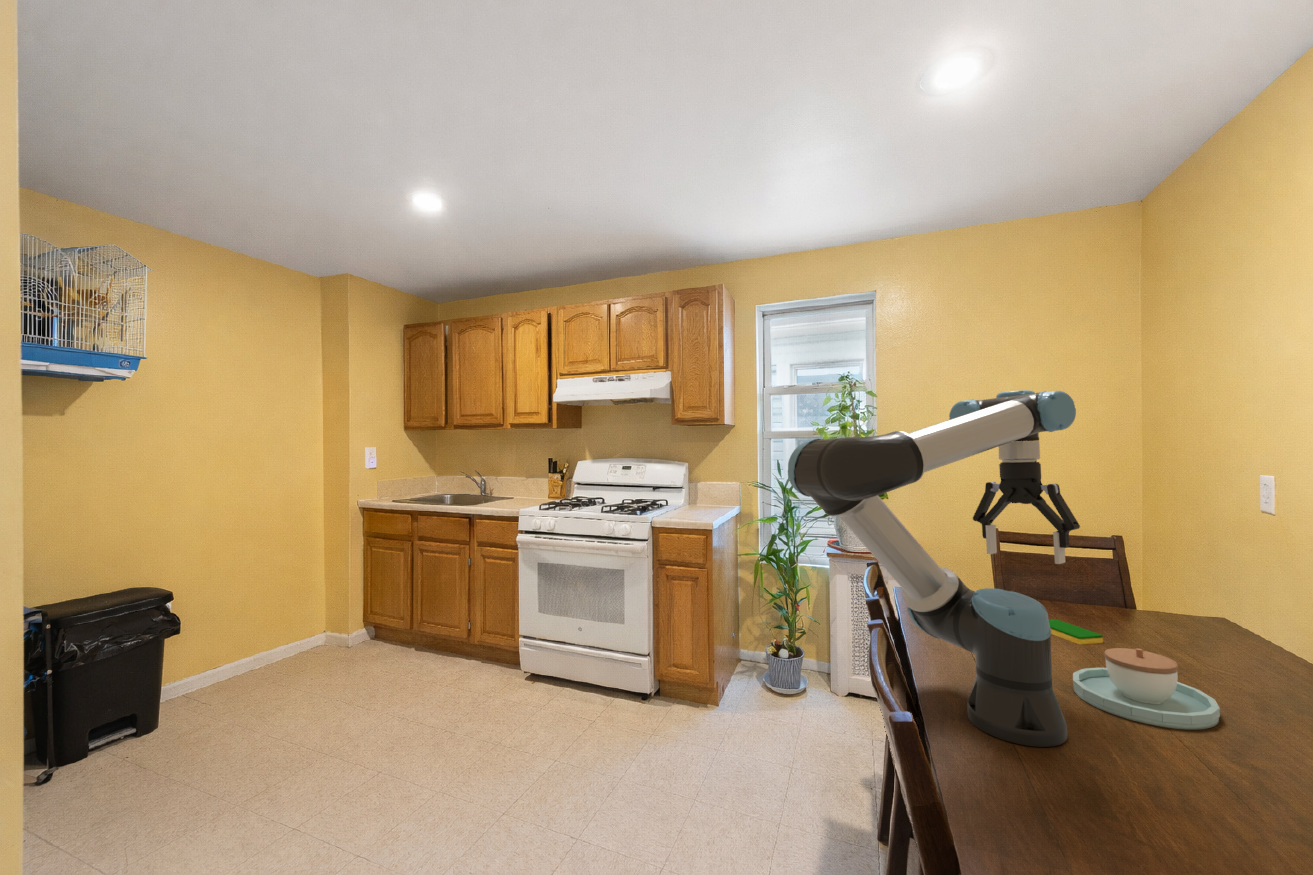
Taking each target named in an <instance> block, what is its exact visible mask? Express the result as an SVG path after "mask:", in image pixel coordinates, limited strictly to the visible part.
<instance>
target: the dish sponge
mask: <svg viewBox="0 0 1313 875" xmlns="http://www.w3.org/2000/svg"><path fill="white" fill-rule="evenodd" d="M1049 625H1050V629H1051V635H1052V636H1053V635H1054V636H1056V637H1059V638H1061V639H1063V640H1066V641H1068V642H1071V643H1075V644H1077V645H1081V646H1083V645H1093V644H1094V645H1095V644H1096V645H1097V644H1104V637H1103V634H1100V633H1098V632H1095V631H1093V630H1089V629H1086V628H1083V627H1080V626H1077V625H1074V624H1072V623H1069V622H1066V621H1062V620H1060V619H1057V618H1053V619H1049Z"/></svg>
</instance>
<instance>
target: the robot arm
mask: <svg viewBox="0 0 1313 875" xmlns="http://www.w3.org/2000/svg"><path fill="white" fill-rule="evenodd" d="M1076 414H1077V408H1076V405H1075V401H1074V399H1073V397H1071V395H1069V394H1068V393H1067V392H1064V391H1062V390H1051V391H1050V390H1049V391H1047V390H1043V391H1041V392H1040V391H1039V392H1035V391H1033V390H1025V389H1024V390H1022V389H1021V390H1011V391H1002V392H999V393H997V394H996V397H995V398H987V399H968V400H960V401H958V402H956V403H955V404H954V405H953V406H952V408H950V411H949V416H948V417H949V418H948V420H945V421H941V422H938V423H935V424H933V425H929V426H925V427H923V428H920V429H917V430H913V431H911V432H905V431H902V430H896V431H892V432H889V433H885V434H880V435H872V436H853V437H852V436H851V437H850V436H848V437H838V438H837V437H836V438H828V439H827V438H826V439H824V438H814V439H811V440H807V441H805V442H802V443H800V444H799V445H798V446H797V447H795V449H794V450H793V451H792V453H791V455H790V457H789V459H788V463H787V478H788V480H789V483H790V485H791V486H792V488H793V489H794V490H795V491H796V492H797V493H799V494H800V495H802V496H804V497H807V498H808V497H810V498H812V499H813V501H814V502H815V503H816V504H817V505H818V506H819V507H820V509H822V510H823V512H824V513H825V514H826V515H827V516H829V517H839V519H840V520H841V521H842V522H843V524H845V525H846V526H847V528H848V529H850V531H851V532H852V533H853V534H854V535H855V537H857V539H858V540H859V541H860V542H861V543H862V544H863V545H864V546H865V548H866V549H867V550H868V551H869V552H870V553H871V554H872V555H873V557H874V558H875V559H876V560H877V561H878V563H879V564H881V566H882V567H883V568H884V570H886V572H887V573H888V574H889V575H890V576H891V577H892V578H893V579H894V580H895V582H896V583H897V584H898V586H900V587H901V589H903V591H904V601H905V603H906V605H907V606H908V608H907V612H908V616H909V618H910V619H911V621H912V622H913V624H915V626H916V627H917V628H918V629H920V630H921V631H923V632H924V633H926V635H929V636H931V637H933V638H935V639H939V640H942V641H945V642H946V643H948V644H951V645H953V646H956V647H959V648H960V649H961V648H962V649H963V650H965V651H968V652H970V653H973V654H974V655H975V670H976V671H975V672H976V673H975V675H976V676H975V679H974V682H973V685H972V688H971V691H970V693H969V696H968V700H967V703H966V704H967V705H966V707H967V708H966V709H967V710H966V711H967V718H968V720H969V721H970V723H971V724H972V725H974V726H975V727H976V728H977V729H979V730H980V731H981V732H984V733H986V734H988V735H990V736H993V737H994V738H998V739H999V740H1003V741H1006V742H1009V743H1014V744H1016V745H1023V746H1030V747H1038V748H1039V747H1040V748H1046V747H1047V748H1049V747H1050V748H1051V747H1057V746H1060V745H1062V744H1064V743H1066V741H1067V740H1068V725H1067V721H1066V718H1065V717H1064V714H1063V712H1062V710H1061V706H1060V704H1059V701H1058V699H1057V697H1056V694H1055V691H1054V689H1053V672H1052V671H1053V670H1052V669H1053V668H1052V664H1053V663H1052V640H1051V639H1052V637H1051V635H1052V634H1051V629H1050V625H1049V620H1050V619H1049V614H1048V611H1047V609H1046V607H1045V606H1044V605H1043V604H1042V603H1041V602H1039V601H1038V600H1037V599H1035V598H1032V597H1030V596H1029V595H1025V594H1022V593H1020V592H1017V591H1016V592H1015V591H1013V590H1005V589H1002V588H990V587H989V588H981V589H980V588H979V589H976V590H973V589H970V588H969V587H968V586H967V585H966V584H965V583H964V582H963V580H961V578H960V577H959V576H958V575H957V574H956V572H954V571H953V570H951V569H950V568H947V567H940V566H939V565H938V563H937V562H936V561H935V560H934V559H933V558H932V556H931V555H930V554H929V553H928V552H927V551H926V550H925V548H924V547H923V546H922V545H921V544H920V542H918V540H917V539H916V538H915V537H914V535H912V533H911V532H910V531H909V530H908V529H907V528H906V526H905V525H904V524H903V523H902V522H901V520H900V519H899V518H898V517H897V516H896V515H895V513H894V512H893V511H892V510H891V509H890V508H889V507H888V505H887V504H886V503H885V502H884V501H883V500H882V498H881V497H880V495H883V494H886V493H890V492H892V491H895V490H897V489H900V488H902V487H906V486H908V485H912V484H914V483H917V482H918V481H920V480H921V479H922V477H923V476H924V474H925V473H927V472H930V471H933V470H936V469H938V468H941V467H945V466H947V465H949V464H953V463H955V462H959V461H962V460H964V459H967V458H969V457H973V456H975V455H978V454H980V453H985V452H986V451H989V450H992V449H995V448H998V459H999V460H1001V461H1002V462H1000V463H999V464H998V468H999V478H1000V481H999V483H998V482H997V481H988V482H986V483H985V488H984V493H983V495H982V497H981V499H980V502H979V504H978V506H977V508H976V510H975V512H974V514H973V516H972V520H973V521H974V522H977V523H980V524H981V529H982V530H981V532H982V533H981V534H982V538H983V539H985V542H986V554H988V555H994V554H998V549H997V547H998V546H997V530H996V529H997V525H996V524H994V521H995V520H996V519H997V517H998V516H999V515H1000V514H1001V513H1002V512H1003V511H1004V510H1005V508H1007V507H1008V506H1009V505H1010V504H1022V505H1030V504H1031V506H1033V507H1035V508H1036V509H1037V510H1038V511H1039V512H1040V513H1041V514H1042V516H1044V517H1045V519H1046V520H1047V521H1048V522H1049V523H1050V524H1051V525H1052V527H1054V528H1055V529H1056V531H1052V532H1053V533H1052V534H1053V537H1052V538H1053V552H1054V554H1053V555H1054V564H1056V565H1061V564H1065V563H1066V549H1068V548H1069V547H1070V532H1071V531H1074V530H1075V531H1076V530H1079V529H1080V528H1081V526H1080V523H1079V522H1078V520H1077V518H1076V517H1075V515H1074V513H1073V512H1072V511H1071V508H1069V505H1068V504H1067V502H1066V501H1065V499H1064V497H1063V496H1062V494H1061V488H1060V485H1059V484H1058V483H1048V484H1043V482H1042V467H1041V466H1042V464H1041V463H1040V462H1039V461H1038V460H1040V459H1041V449H1040V445H1041V444H1040V437H1039V436H1040V435H1039V434H1040V433H1042V432H1049V433H1053V432H1056V431H1063V430H1066V429H1068V428H1070V427H1071V425H1073V423H1074V421H1075V419H1076V417H1077V416H1076ZM996 482H997V483H996ZM999 490H1000V492H1001V493H1002V495H1001V496H1000V497H999V498H998V499H997V502H996V503H995V504H994V505H993V506H992V507H991V505H992V503H993V501H994V499H995V497H996V494H997V493H998V492H999ZM1043 492H1044V493H1045V494H1046V495H1048V497H1049V499H1050V501H1051V502H1052V505H1053V506H1054V508H1055V510H1056V511H1057V512H1058V514H1059V515H1058V514H1057V512H1056V511H1055V510H1053V508H1052V507H1050V505H1049V504H1048V503H1047V500H1045V499H1044V498H1043V497H1042V496H1041V494H1042V493H1043ZM990 507H991V509H990ZM989 509H990V510H989ZM988 510H989V511H988Z"/></svg>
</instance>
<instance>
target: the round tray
mask: <svg viewBox="0 0 1313 875" xmlns="http://www.w3.org/2000/svg"><path fill="white" fill-rule="evenodd" d="M1072 687H1073V692H1074V693H1075V694H1076V695H1077V697H1078V698H1080V699H1081V700H1083V701H1084V702H1085V703H1087V704H1089V705H1091V706H1093V707H1094V708H1097V709H1099V710H1101V711H1104V712H1106V713H1109V714H1110V715H1114V716H1117V717H1119V718H1123V719H1127V720H1130V721H1134V722H1138V723H1142V724H1146V725H1150V726H1151V725H1152V726H1155V727H1162V728H1167V729H1177V730H1190V731H1191V730H1205V729H1210V728H1214V727H1216V726H1217V725H1218V724H1219V723H1220V717H1221V709H1220V706H1219V704H1218V703H1217V701H1216V699H1215V698H1213V697H1211V696H1210V695H1208V694H1206V693H1205V692H1203V691H1202V690H1200V689H1197V688H1195V687H1193V686H1190V685H1187V684H1185V683H1182V682H1180V681H1177V687H1176V690H1175V692H1174V694H1173V695H1172V696H1171V697H1170V698H1169V699H1167V700H1165V701H1164V702H1163V703H1162V704H1147V703H1141V702H1138V701H1134V700H1131V699H1129V698H1127V697H1125V696H1124V695H1122V693H1121V691H1120V690H1118V689H1117V688H1116V687H1115V686H1114V684H1113V683H1112V681H1111V680H1110V678H1109V675H1108V672H1107V668H1106V667H1089V668H1081V669H1079V670H1076V671H1074V672H1073V673H1072Z"/></svg>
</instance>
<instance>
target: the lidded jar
mask: <svg viewBox="0 0 1313 875" xmlns="http://www.w3.org/2000/svg"><path fill="white" fill-rule="evenodd" d="M1104 658H1105V666H1106V667H1105V668H1107V672H1108V675H1109V678H1110V680H1111V681H1112V683H1113V684H1114V686H1115V687H1116V688H1117V689H1118V690H1120V691H1121V693H1122V695H1124V696H1125V697H1127V698H1129V699H1131V700H1134V701H1138V702H1141V703H1147V704H1162V703H1163V702H1164V701H1165V700H1167V699H1169V698H1170V697H1171V696H1172V695H1173V694H1174V692H1175V690H1176V687H1177V682H1179V681H1178V678H1179V677H1178V676H1179V675H1178V671H1179V665H1178V662H1176V661H1175V660H1173V659H1171V658H1169V657H1167V656H1164V655H1162V654H1159V653H1155V652H1152V651H1151V652H1150V651H1147V650H1144V649H1142V648H1140V647H1139V648H1124V647H1112V648H1108V649H1105V651H1104Z"/></svg>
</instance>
